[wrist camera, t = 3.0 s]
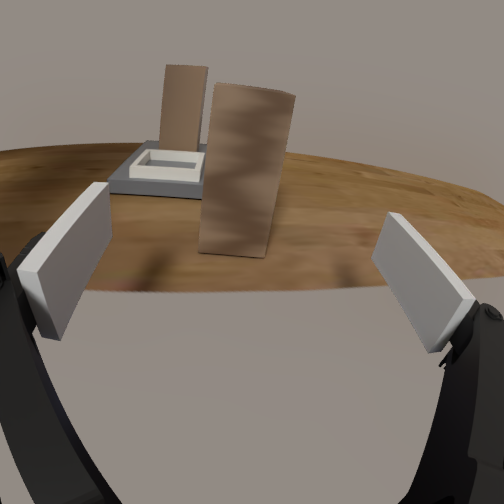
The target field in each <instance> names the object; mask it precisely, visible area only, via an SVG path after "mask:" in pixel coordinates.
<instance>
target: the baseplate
mask: <svg viewBox="0 0 504 504" xmlns="http://www.w3.org/2000/svg"><path fill="white" fill-rule="evenodd" d="M207 74H208V67H205V66H189V65H166V70H165V78H164V89H163V99H162V109H161V123H160V137H159V141H146V142H144V143H143V144H142V145H141V146H140V147H139V148H138V149H137V150H136V151H135V152H134V153H133V154H132V155H131V156H130V157H129V158H128V159H127V160H126V161H125V162H124V163H123V164H122V165H121V166H120V167H119V168H118V169H117V170H116V171H115V172H114V173H113V174H112V175H111V176H110V177H109V178H108V179H107V183H109V193H122V194H140V195H155V196H170V197H183V198H196V199H202V193H203V181H204V171H205V161H206V151H207V144H199V141H200V132H201V123H202V114H203V106H204V97H205V90H206V82H207Z"/></svg>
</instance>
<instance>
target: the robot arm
mask: <svg viewBox="0 0 504 504" xmlns="http://www.w3.org/2000/svg"><path fill="white" fill-rule="evenodd" d="M112 237H113V236H112V225H111V211H110V193H109V183H107V182H93V183H92V184H91V185H90V186H89V187H88V188H87V189H86V190H85V191H84V192H83V193H82V194H81V195H80V196H79V197H78V198H77V199H76V201H75V202H74V203H73V204H72V205H71V206H70V207H69V208H68V209H67V210H66V211H65V212H64V213H63V214H62V216H61V217H60V218H59V219H58V220H57V221H56V222H55V223H54V224H53V226H52V227H51V228H50V229H49V230H48V231H47V232H41V233H40V234H38V235H37V236H35V237H34V238H32V239H31V240H30V241H29V243H28V244H27V245H26V246H25V248H23V250H22V251H21V252H20V255H18V256H17V257H16V258H15V259H14V261H13V262H12V263H11V264H10V266H9V267H8V268H7V266H6V263H5V260H4V257H3V255H2V253H0V423H1V426H2V429H3V432H4V435H5V437H6V440H7V443H8V445H9V448H10V451H11V453H12V456H13V458H14V461H15V463H16V466H17V468H18V470H19V472H20V475H21V477H22V479H23V481H24V483H25V485H26V487H27V489H28V492H29V494H30V496H31V497H32V500H33V501H34V503H35V504H122V503H121V501H120V500H119V499H118V497H117V496H116V495H115V493H114V492H113V490H112V489H111V488H110V487H109V485H108V483H107V482H106V480H105V479H104V478H103V476H102V474H101V473H100V471H99V470H98V468H97V467H96V466H95V464H94V462H93V461H92V459H91V457H90V456H89V454H88V452H87V451H86V449H85V447H84V446H83V444H82V442H81V440H80V439H79V437H78V435H77V433H76V432H75V429H74V428H73V426H72V424H71V422H70V420H69V418H68V416H67V414H66V412H65V410H64V408H63V406H62V404H61V402H60V400H59V398H58V396H57V393H56V391H55V389H54V387H53V385H52V382H51V380H50V378H49V375H48V373H47V371H46V368H45V366H44V363H43V360H42V358H41V355H40V353H39V350H38V347H37V345H36V342H35V339H34V337H33V335H32V332H33V330H34V329H35V327H36V325H37V327H38V330H39V332H40V334H41V336H42V337H44V338H48V339H53V340H58V341H61V338H62V336H63V334H64V331H65V329H66V327H67V324H68V323H69V320H70V318H71V316H72V314H73V312H74V310H75V307H76V305H77V303H78V301H79V299H80V297H81V295H82V293H83V291H84V289H85V287H86V285H87V283H88V281H89V279H90V277H91V275H92V273H93V271H94V269H95V268H96V266H97V264H98V262H99V260H100V258H101V256H102V255H103V253H104V251H105V249H106V247H107V246H108V244H109V242H110V240H111V239H112ZM371 259H372V260H373V262H374V264H375V265H376V267H377V268H378V270H379V271H380V273H381V274H382V276H383V278H384V279H385V281H386V282H387V284H388V286H389V287H390V288H391V290H392V292H393V293H394V295H395V297H396V298H397V300H398V302H399V303H400V305H401V306H402V308H403V310H404V312H405V313H406V315H407V317H408V319H409V320H410V322H411V324H412V326H413V327H414V329H415V331H416V333H417V334H418V336H419V338H420V340H421V341H422V343H423V345H424V347H425V349H426V351H427V352H428V353H434V352H441V351H442V350H443V348H444V347H445V346H446V344H447V343H448V341H450V342H451V344H452V346H453V347H452V348H451V350H450V351H449V352H448V353H447V355H446V356H445V357H444V359H443V360H442V361H441V362H440V364H439V367H441V366H442V365H443V364H444V363H446V366H445V367H444V369H445V372H444V378H443V382H442V387H441V392H440V396H439V400H438V404H437V408H436V412H435V416H434V419H433V423H432V427H431V430H430V434H429V437H428V440H427V443H426V446H425V450H424V452H423V455H422V458H421V461H420V464H419V467H418V470H417V472H416V475H415V477H414V480H413V482H412V485H411V487H410V489H409V492H408V493H407V494H406V496H405V497H404V498H403V499H402V500H401V501H400V502H399V503H398V504H504V320H503V317H502V315H501V314H500V312H499V311H498V310H497V309H496V308H494V307H493V306H491V305H489V304H486V303H483V304H481V305H480V304H479V303H478V301H477V300H476V298H475V297H474V296H473V295H472V293H471V292H470V291H469V290H468V288H467V287H466V286H465V285H464V283H463V282H462V281H461V280H460V279H459V277H458V276H457V275H456V274H455V273H454V272H453V270H452V269H451V268H450V267H449V266H448V265H447V263H446V262H445V261H444V260H443V259H442V258H441V257H440V255H439V254H438V253H437V252H436V251H435V250H434V249H433V248H432V247H431V246H430V244H429V243H428V242H427V241H426V240H425V239H424V238H423V237H422V236H421V235H420V234H419V233H418V232H417V231H416V230H415V229H414V228H413V226H412V225H411V224H410V223H409V222H408V221H407V220H406V219H405V218H404V217H403V216H402V215H401V214H398V213H392V212H388V213H387V216H386V219H385V222H384V225H383V228H382V230H381V233H380V236H379V239H378V241H377V244H376V247H375V249H374V252H373V254H372V257H371ZM0 504H2V503H1V499H0Z"/></svg>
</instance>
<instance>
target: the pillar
mask: <svg viewBox="0 0 504 504" xmlns="http://www.w3.org/2000/svg"><path fill="white" fill-rule="evenodd" d="M295 97H296V96H295V95H292V94H289V93H286V92H283V91H279V90H273V89H266V88H259V87H252V86H245V85H237V84H227V83H216V84H215V85H214V92H213V100H212V107H211V116H210V124H209V133H208V142H207V151H206V161H205V171H204V181H203V193H202V204H201V217H200V230H199V245H198V252H199V253H211V254H224V255H236V256H248V257H261V258H265V253H266V248H267V243H268V238H269V233H270V228H271V223H272V218H273V213H274V208H275V203H276V197H277V192H278V187H279V182H280V177H281V172H282V166H283V161H284V156H285V150H286V145H287V140H288V135H289V129H290V124H291V118H292V113H293V108H294V102H295Z"/></svg>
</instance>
